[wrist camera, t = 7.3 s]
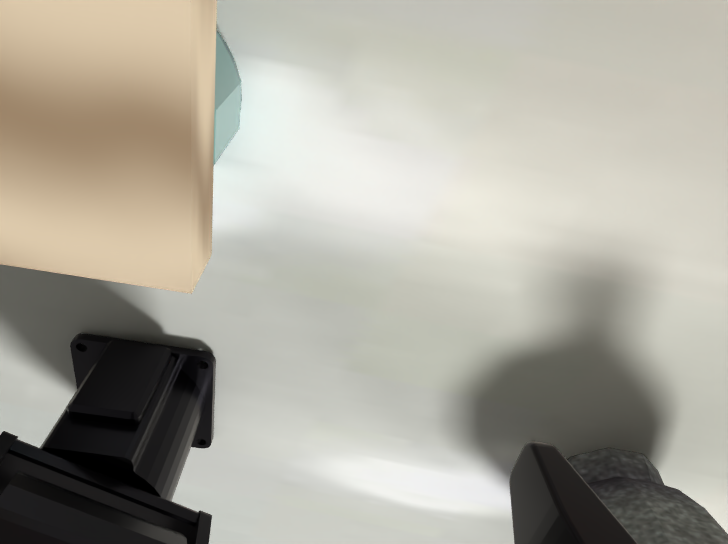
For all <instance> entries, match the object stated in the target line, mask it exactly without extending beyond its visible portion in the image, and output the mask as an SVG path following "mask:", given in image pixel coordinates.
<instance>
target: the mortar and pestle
mask: <svg viewBox="0 0 728 544" xmlns="http://www.w3.org/2000/svg"><path fill="white" fill-rule="evenodd" d="M567 461H568V462H569V463H570V464H571V465H572V467H573V468H574V469H575V470H576V471H577V473H578V474H579V475H580V476H581V477H582V478H583V480H584V481H585V482H586V483H587V484H588V485H589V487H590V488H591V489H592V490H593V491H594V493H595V494H596V495H597V496H598V497H599V498H600V500H601V501H602V502H603V503H604V504H605V505H606V507H607V508H608V509H609V510H610V511H611V513H612V514H613V515H614V516H615V517H616V518H617V520H618V521H619V522H620V523H621V524H622V525H623V527H624V528H625V529H626V530H627V531H628V533H629V534H630V535H631V536H632V537H633V538H634V540H635V541H636V542H637V543H638V544H728V534H727V533H726V532H725V530H724V529H723V528H722V527H721V526H720V525H719V524H718V523H717V522H716V520H715V519H714V518H713V517H712V516H711V515H710V514H709V513H708V512H707V510H706V509H705V508H703V507H702V506H701V505H699V504H698V503H696V502H695V501H694V500H692V499H691V498H689V497H688V496H687V495H685V494H684V493H682V492H681V491H680V490H678V489H675V488H671V487H668V486H665V485H664V483H663V481H662V479H661V476H660V474H659V472H658V470H657V469H656V468H655V467H654V466H653V465H652V464H651V463H650V462H649V461H648V460H647V458H646V457H645V456H644V455H643V454H641V453H636V452H630V451H624V450H618V449H612V448H605V449H601V450H597V451H593V452H589V453H585V454H581V455H576V456H572V457H570V458H569V459H568V460H567Z"/></svg>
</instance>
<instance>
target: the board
mask: <svg viewBox="0 0 728 544" xmlns="http://www.w3.org/2000/svg"><path fill="white" fill-rule="evenodd" d="M216 19H217V0H0V264H2V265H8V266H15V267H21V268H28V269H34V270H41V271H47V272H54V273H60V274H67V275H73V276H80V277H86V278H93V279H100V280H106V281H113V282H119V283H126V284H132V285H139V286H145V287H152V288H158V289H165V290H171V291H178V292H184V293H191V294H192V292H193V290H194V288H195V286H196V284H197V282H198V280H199V278H200V276H201V275H202V273H203V271H204V269H205V267H206V265H207V263H208V261H209V259H210V257H211V253H212V206H213V159H214V112H215V65H216Z"/></svg>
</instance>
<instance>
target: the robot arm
mask: <svg viewBox="0 0 728 544" xmlns="http://www.w3.org/2000/svg"><path fill="white" fill-rule="evenodd" d="M83 344H84V345H83ZM70 347H71V353H72V359H73V365H74V371H75V377H76V383H77V389H78V390H77V391H76V393H75V394H74V396H73V397H72V399H71V400H70V402H69V404H68V405H67V407H66V409H65V410H64V412H63V413H62V415H61V416H60V418H59V419H58V421H57V422H56V424H55V425H54V427H53V429H52V430H51V432H50V433H49V435H48V436H47V438H46V439H45V441H44V442H43V444H42V445H41V447H40V448H38V447H35V446H33V445H30V444H28V443H25V442H23V441H20V440H18V439H17V438H18V436H15V435H13V434H10V433H8V432H5V431H3V432H2V434H1V435H0V544H208V543H209V535H210V527H211V519H212V515H210V514H208V513H205V512H203V511H199V512H196V511H194V510H191V509H189V508H187V507H184V506H182V505H179V504H177V503H174V502H172V498H173V495H174V492H175V489H176V487H177V484H178V481H179V478H180V476H181V473H182V470H183V467H184V465H185V462H186V459H187V456H188V453H189V451H190V448H191V447H196V448H208V447H209V446H210V445H211V443H212V440H213V430H214V399H215V368H216V360H215V357H214V356H213V355H212V354H211V353H209V352H206V351H199V350H193V349H186V348H179V347H172V346H165V345H158V344H152V343H145V342H138V341H131V340H124V339H117V338H111V337H104V336H97V335H90V334H78V335H76V337H75V338H74V339H73V340H72V342H71V345H70ZM201 361H204V362H206V363H203V362H201ZM510 495H511V507H512V519H513V531H514V543H515V544H638V543H637V542H636V541H635V540H634V538H633V537H632V536H631V535H630V534H629V533H628V531H627V530H626V529H625V528H624V527H623V525H622V524H621V523H620V522H619V521H618V520H617V518H616V517H615V516H614V515H613V514H612V513H611V511H610V510H609V509H608V508H607V507H606V505H605V504H604V503H603V502H602V501H601V500H600V498H599V497H598V496H597V495H596V494H595V493H594V491H593V490H592V489H591V488H590V487H589V485H588V484H587V483H586V482H585V481H584V480H583V478H582V477H581V476H580V475H579V474H578V473H577V471H576V470H575V469H574V468H573V467H572V465H571V464H570V463H569V462H568V461H567V460H566V458H565V457H564V456H563V455H562V454H561V452H560V451H559V450H558V449H557V448H556V447H555V446H554V445H552V444H549V443H543V442H535V441H529V442H528V443H526V444H525V446H524V447H523V449H522V451H521V453H520V455H519V457H518V459H517V461H516V463H515V465H514V467H513V469H512V472H511V475H510Z"/></svg>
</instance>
